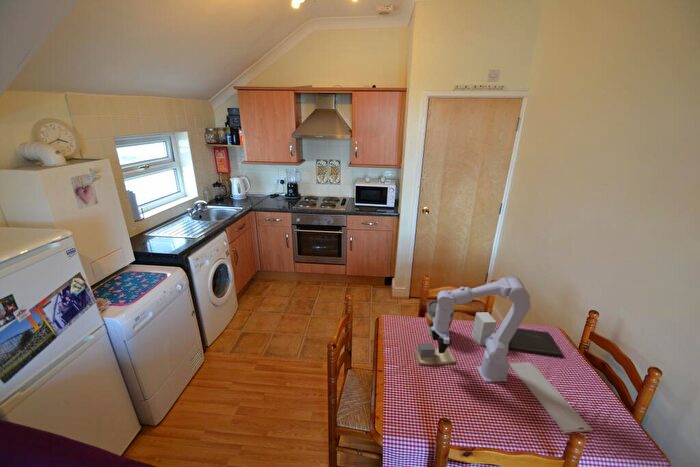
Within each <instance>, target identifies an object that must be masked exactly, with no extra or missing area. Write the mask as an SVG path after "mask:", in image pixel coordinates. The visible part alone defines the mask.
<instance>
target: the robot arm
mask: <svg viewBox="0 0 700 467" xmlns="http://www.w3.org/2000/svg"><path fill="white" fill-rule="evenodd" d="M493 295H497V296H500V297H501V298H503V299H505V300H506V299H507V297H508V299H509V300H510V301H511V302H512V305H511V307H510V308H509V310H508V312H507V314H506V315H505V318H504V319H503V321H502V322H501V324H500V325H499V326H500V327H499V326H498V328H497V331H496V332H494V333H493V334H492V335H491V336H490V337H489V338H487V339H486V340H485V345H484V346H485V348H486V349H485V351H484V353H483V358H482V362H481V365H478V366H476V369H477V371H478V373H479V374H480V376H481V377H482V379H483V380H484V383H490V382H491V383H492V382H493V383H494V382H507V381H508V379H507V377H508V373H509V370H510V365H509V363H510V362H509V359H508V358H507V355H508V353H509V350H508V344H509V342H510V340H511V338H512V337H513V335H514V334H515V332H516V330H517V329H518V328H519V327H520V325H521V323H522V322H523V321H524V319H525V317H526V315H528V313H529V311H530V310H531V306H532V305H531V300H530V298H531V295H530V293H529V292H528V291H527V290H526V288H525V285H524V283H522V280H520V278H519V277H517V276H515V275H509V276H507V277H500V278H499V279H498V280H496V281H493V282H489V283H486V284H483V285H480V286H477V287H473V288H471V287H469V286H465V287H464V286H460V287H459V288H457V289H452V290H450V289H447V290H445V289H444V290H443V289H442V290H440V291H439V292H438V293H437V294H436V298H437V299H436V300H438V303H437V307H436V314H435V317H433V323H432V324H430V327H431V330H432V336H431V337H432V341H437V344H438V346H437V347H438V348H437V349H438V350H439V353H444V352H445V350H446V349H447V348H448V347H449V346H450V345H451V344H452V342H453V341H452V339H451V338H450V334H449V332H450V328H449V321H450V315H451V309H452V308H454V307H455V306H457V305H461V304H466V303H471V302H473V300H474V299H475V298H481V297H487V296H493ZM448 328H449V329H448ZM439 336H440V337H441V338H439Z"/></svg>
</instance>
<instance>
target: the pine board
mask: <svg viewBox="0 0 700 467" xmlns="http://www.w3.org/2000/svg"><path fill="white" fill-rule="evenodd" d="M413 352H414V354H415V357H416V359H417V362H418V365H419V366H425V365H427V366H428V365H451V364H454V365H455V364H456V363H457V361H456V359H455V357H454V355H453V354H452V352H451V350H450V348H448V347H447V349H446V350H445V352H444V353H439V350H438V348H435V354H434V359H420V357H419V355H418V348H416V349H414V351H413Z"/></svg>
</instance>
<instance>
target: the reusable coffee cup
mask: <svg viewBox="0 0 700 467" xmlns="http://www.w3.org/2000/svg"><path fill="white" fill-rule="evenodd" d="M437 303H438V299H435V300H432V301H429V303H428V304H427V307H426V325H427V333H428V335H429V336H430V337H432V330H431V327H430V324H432V323H433V317H435V314H436V307H437ZM454 314H455V309H454V307H453V308H452V309H451V315H450V321H449V328H448V329H449V330H450V328H451V326H452V322H453V318H454V316H455V315H454ZM439 338H441V337H440V336H439Z"/></svg>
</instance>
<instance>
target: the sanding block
mask: <svg viewBox="0 0 700 467" xmlns="http://www.w3.org/2000/svg"><path fill="white" fill-rule="evenodd" d="M417 349H418V355H419V357H420V359H434V354H435V349H436V348H435V346H434V343H432V342H427V343H426V342H422V343H421V342H420V343H418V347H417Z"/></svg>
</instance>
